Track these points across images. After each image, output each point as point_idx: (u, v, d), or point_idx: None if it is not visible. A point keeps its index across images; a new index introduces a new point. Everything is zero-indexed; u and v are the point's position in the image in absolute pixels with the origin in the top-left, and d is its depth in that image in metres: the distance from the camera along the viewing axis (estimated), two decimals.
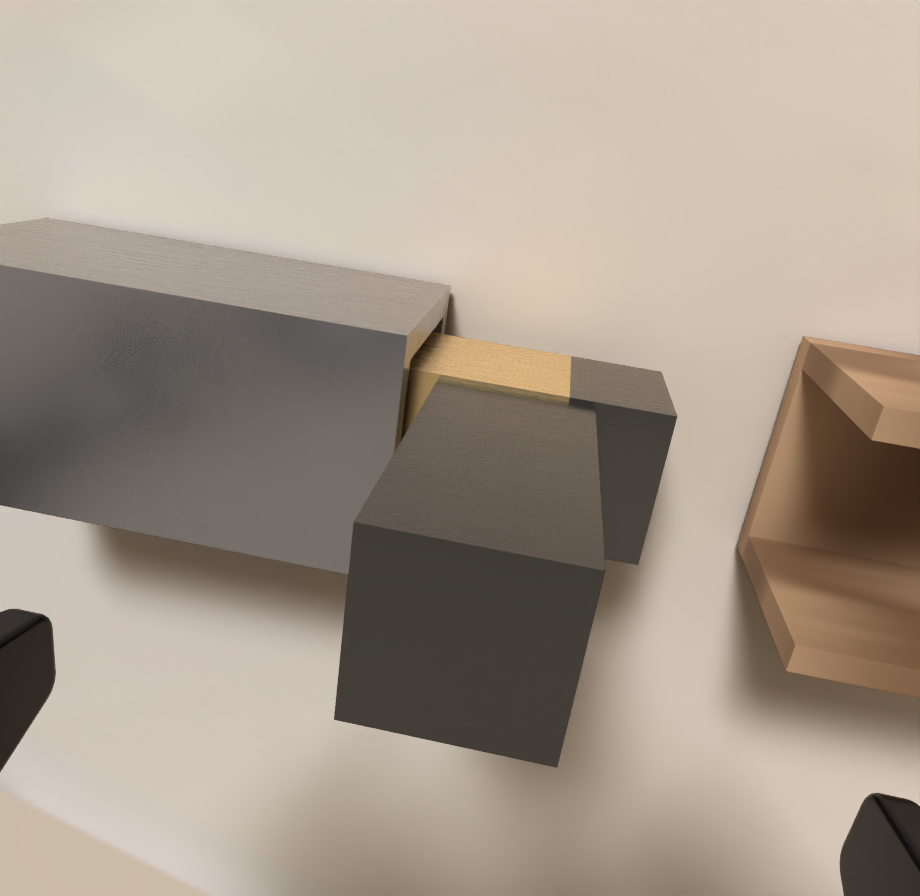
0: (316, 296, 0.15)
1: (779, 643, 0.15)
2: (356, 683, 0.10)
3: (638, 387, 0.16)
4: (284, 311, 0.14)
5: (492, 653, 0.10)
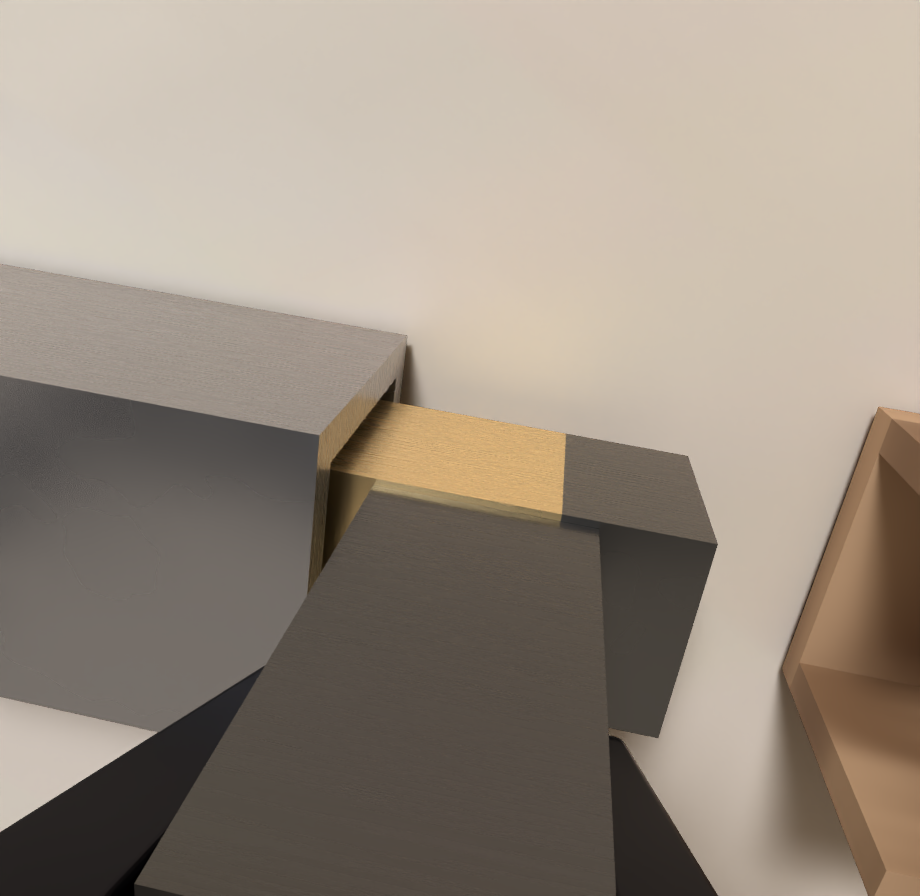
0: (205, 363, 0.11)
1: (857, 851, 0.11)
2: None
3: (659, 487, 0.11)
4: (142, 394, 0.09)
5: None
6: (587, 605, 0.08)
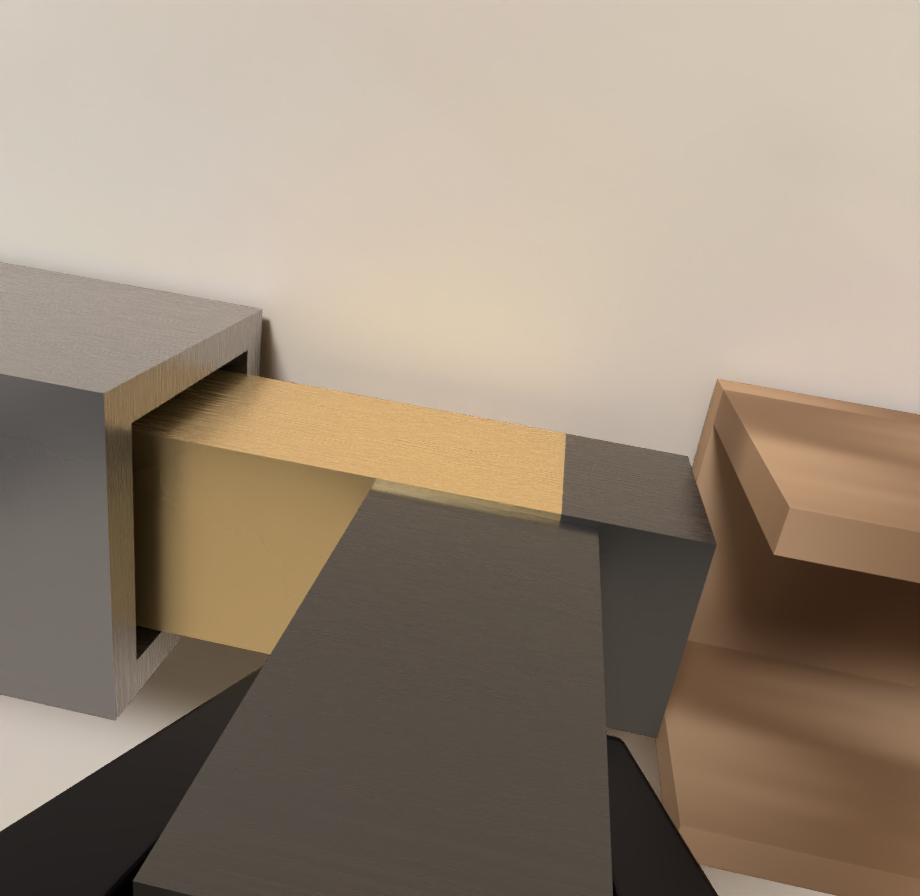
0: (27, 329, 0.11)
1: (667, 809, 0.11)
2: None
3: (658, 488, 0.11)
4: None
5: None
6: (586, 605, 0.08)
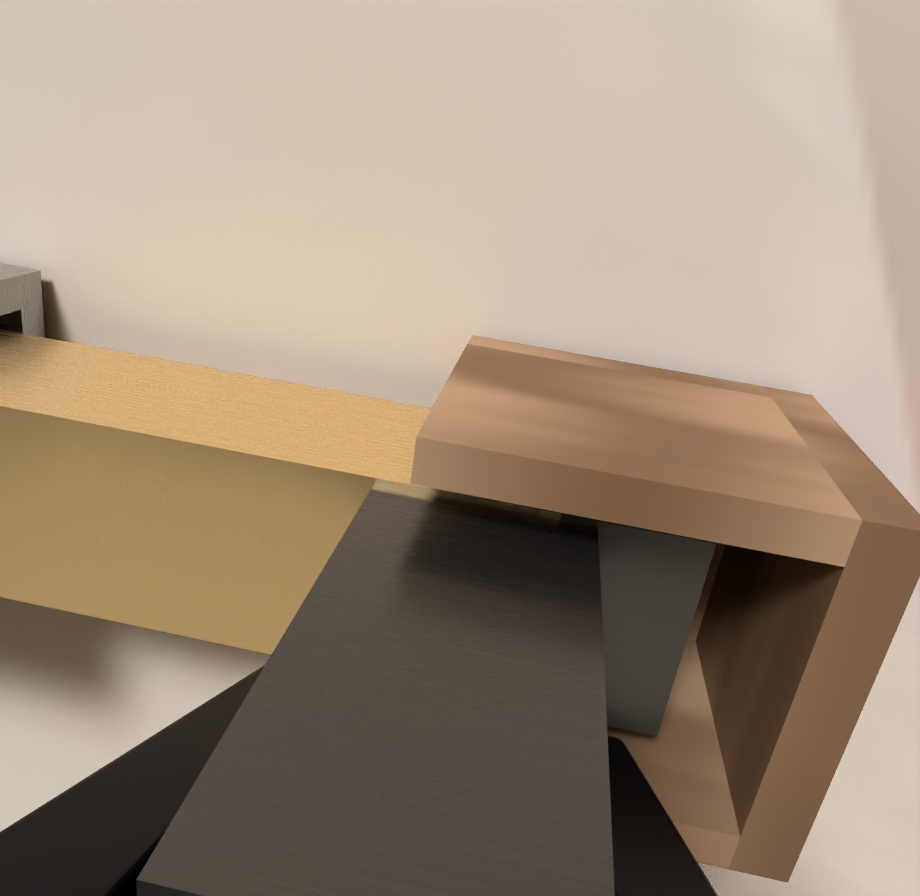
0: None
1: None
2: None
3: None
4: None
5: None
6: (586, 604, 0.08)
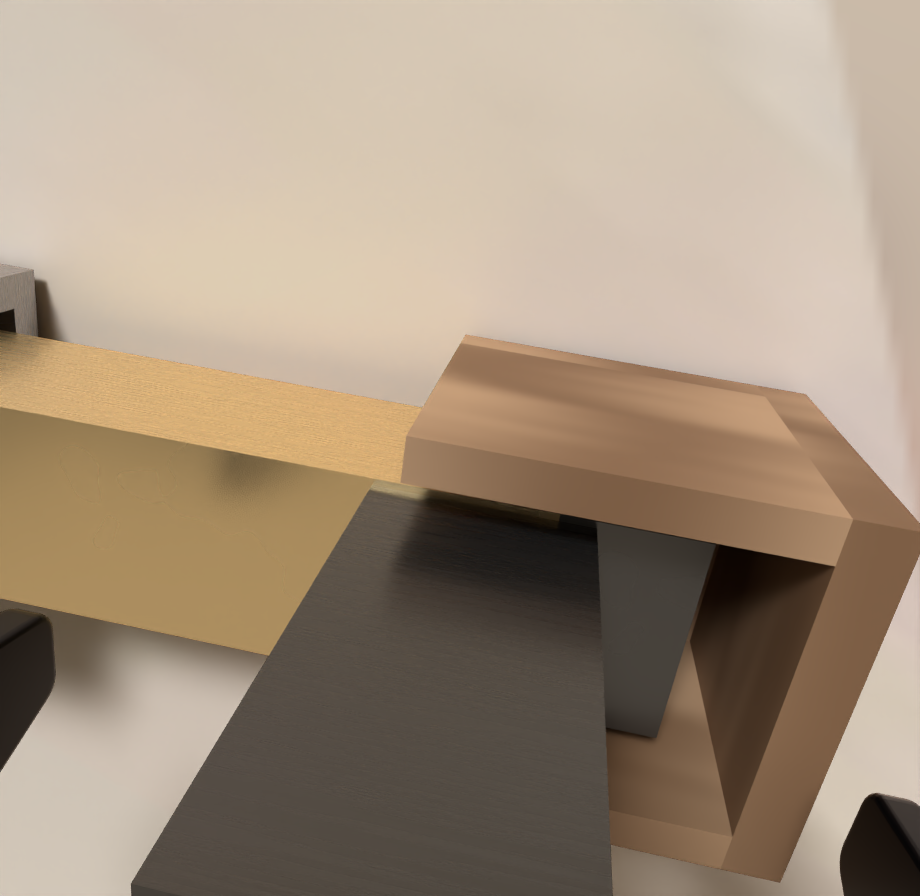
0: None
1: None
2: None
3: None
4: None
5: None
6: (585, 605, 0.08)
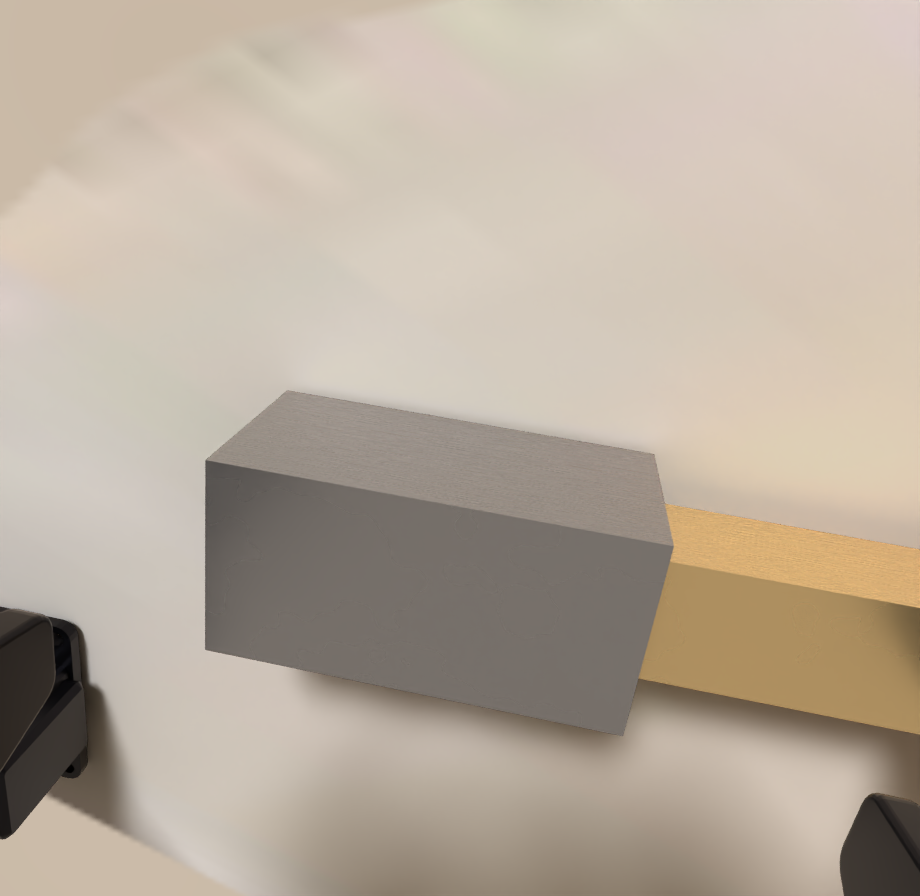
0: (569, 491, 0.18)
1: None
2: None
3: None
4: (562, 520, 0.16)
5: None
6: None
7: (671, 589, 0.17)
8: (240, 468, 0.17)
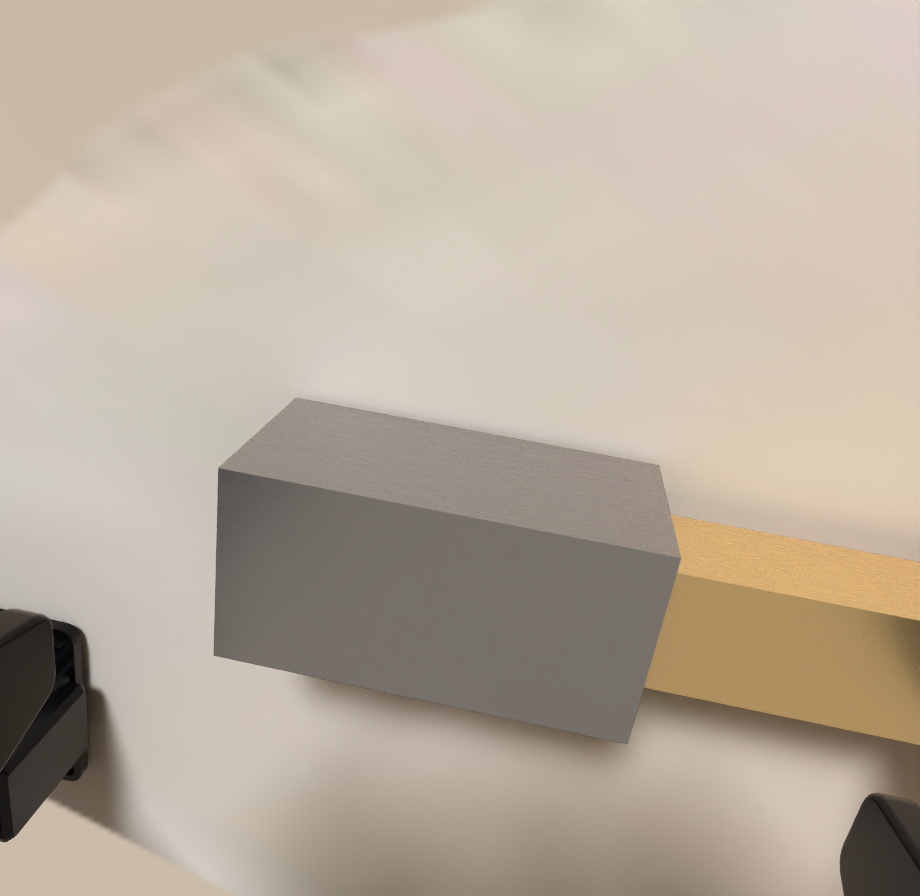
0: (577, 502, 0.18)
1: None
2: None
3: None
4: (571, 531, 0.16)
5: None
6: None
7: (677, 600, 0.18)
8: (253, 476, 0.17)
